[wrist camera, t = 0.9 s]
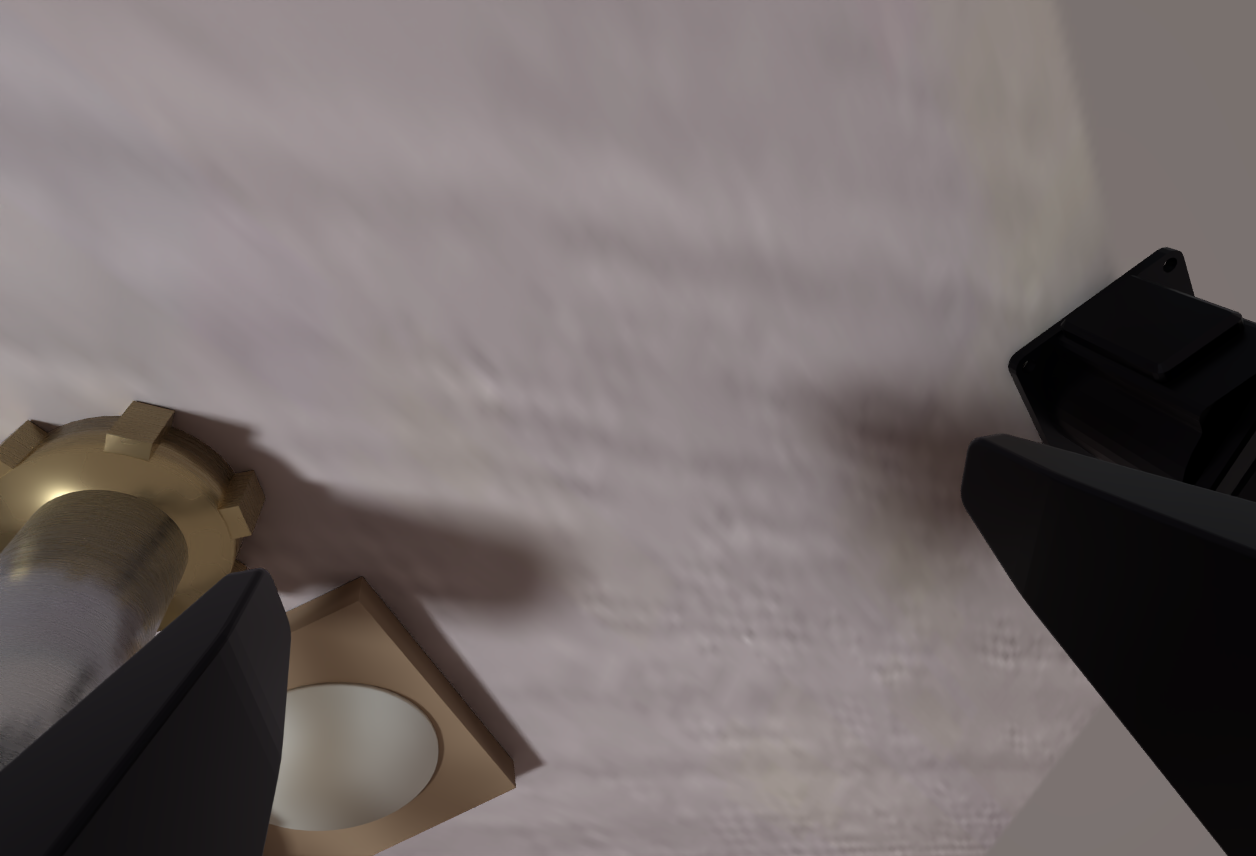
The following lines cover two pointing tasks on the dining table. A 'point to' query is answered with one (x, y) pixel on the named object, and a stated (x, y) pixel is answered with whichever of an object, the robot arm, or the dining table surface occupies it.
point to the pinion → (104, 552)
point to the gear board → (372, 735)
